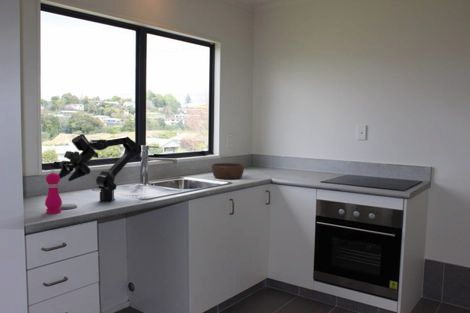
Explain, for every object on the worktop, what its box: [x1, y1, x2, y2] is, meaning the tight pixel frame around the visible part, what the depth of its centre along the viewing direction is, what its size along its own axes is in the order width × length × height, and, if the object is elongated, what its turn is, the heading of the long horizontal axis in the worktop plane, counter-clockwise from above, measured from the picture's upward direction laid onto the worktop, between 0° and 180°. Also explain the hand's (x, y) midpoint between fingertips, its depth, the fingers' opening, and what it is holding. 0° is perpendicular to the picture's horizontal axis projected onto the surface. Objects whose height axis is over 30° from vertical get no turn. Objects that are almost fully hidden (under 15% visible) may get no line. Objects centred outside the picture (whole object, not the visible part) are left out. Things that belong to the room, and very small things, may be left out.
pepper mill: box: [44, 169, 63, 215], centre depth 190 cm, size 7×7×20 cm
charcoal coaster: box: [60, 203, 78, 211], centre depth 202 cm, size 10×10×1 cm
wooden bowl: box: [211, 162, 245, 180], centre depth 315 cm, size 25×25×10 cm
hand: (63, 179), depth 199 cm, fingers open, 9 cm apart
